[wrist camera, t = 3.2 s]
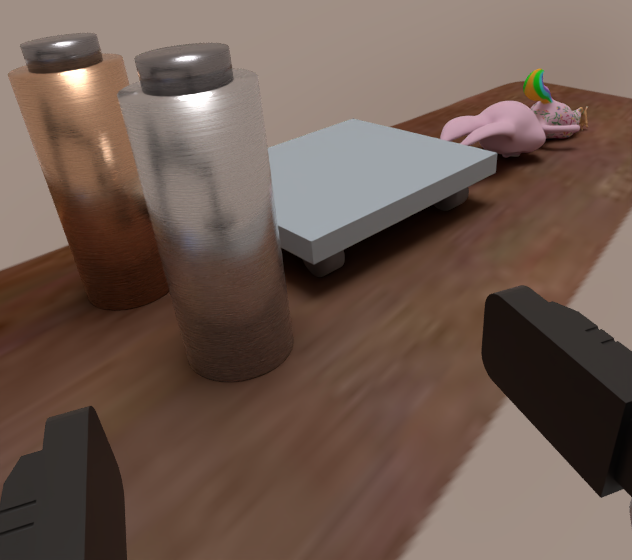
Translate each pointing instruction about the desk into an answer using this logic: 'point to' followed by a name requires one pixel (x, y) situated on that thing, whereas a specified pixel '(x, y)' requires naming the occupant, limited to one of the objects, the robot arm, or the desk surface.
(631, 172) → the desk surface
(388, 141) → the grey square platform
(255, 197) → the steel canister
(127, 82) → the copper canister
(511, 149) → the rabbit figure
